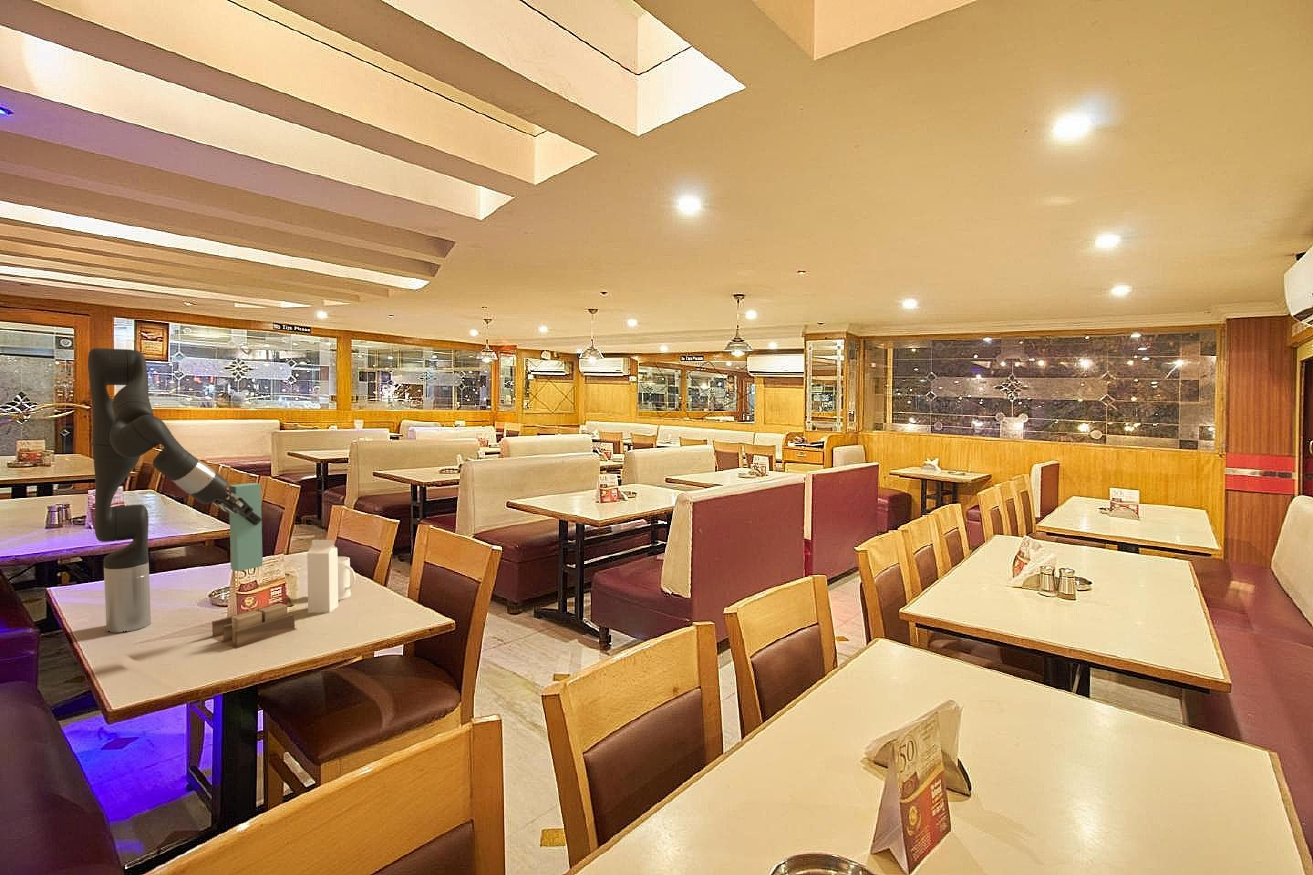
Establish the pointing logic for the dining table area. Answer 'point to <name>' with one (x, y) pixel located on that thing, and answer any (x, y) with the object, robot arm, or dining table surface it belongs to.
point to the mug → (344, 578)
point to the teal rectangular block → (246, 530)
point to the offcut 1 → (245, 621)
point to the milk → (322, 576)
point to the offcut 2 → (273, 612)
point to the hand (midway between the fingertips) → (253, 521)
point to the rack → (251, 630)
